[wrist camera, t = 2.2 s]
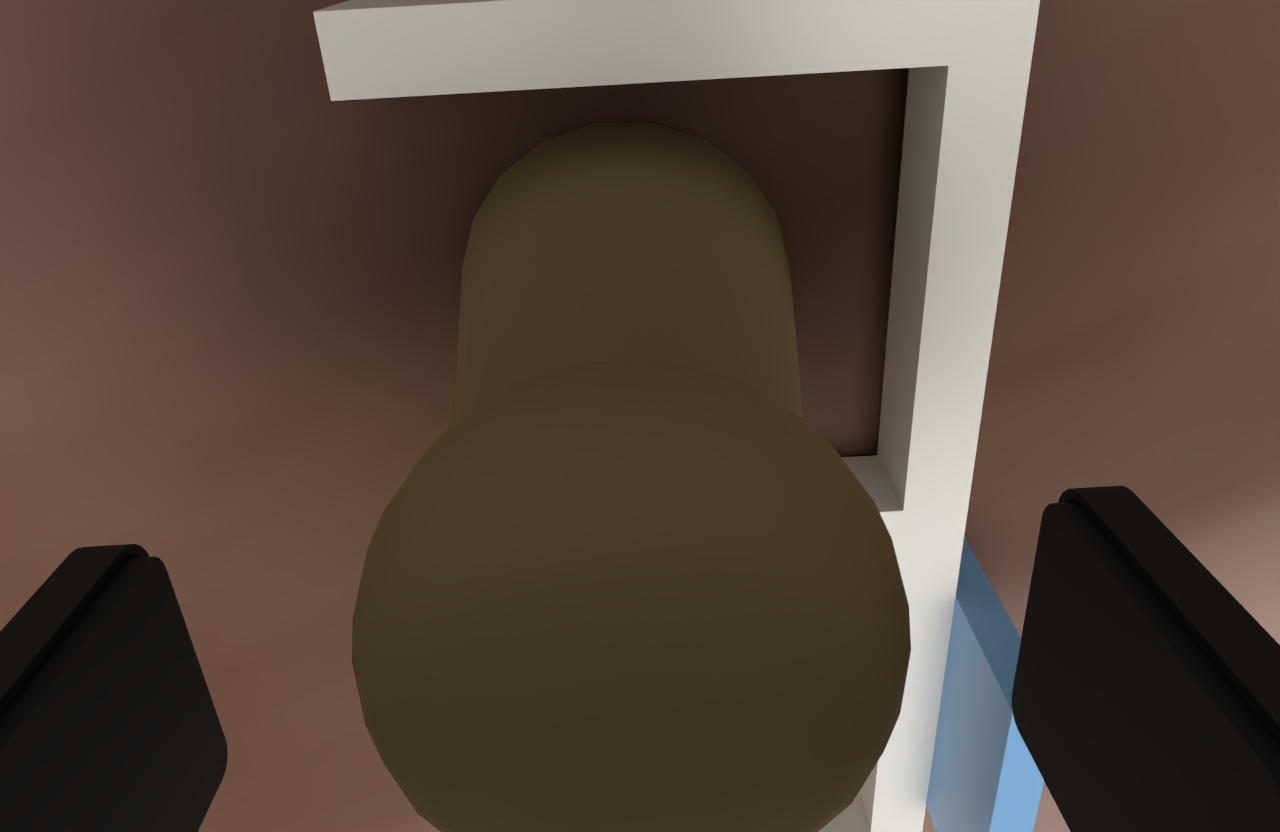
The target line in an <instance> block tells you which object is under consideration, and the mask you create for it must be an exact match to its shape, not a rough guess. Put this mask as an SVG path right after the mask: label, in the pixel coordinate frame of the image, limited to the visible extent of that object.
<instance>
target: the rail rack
mask: <svg viewBox="0 0 1280 832" xmlns="http://www.w3.org/2000/svg"><path fill="white" fill-rule="evenodd" d="M1039 5H1040V0H348V1H345V2H342V3H339V4H336V5H332V6H329V7H326V8H323V9H320V10H317V11H314V12H313V14H314V19H315V24H316V29H317V34H318V39H319V44H320V49H321V54H322V59H323V64H324V69H325V74H326V78H327V83H328V88H329V93H330V98H331V101H340V100H357V99H374V98H392V97H409V96H427V95H444V94H462V93H479V92H497V91H514V90H531V89H549V88H566V87H584V86H601V85H619V84H636V83H654V82H671V81H688V80H706V79H723V78H741V77H758V76H776V75H793V74H811V73H828V72H845V71H863V70H880V69H898V68H909V74H908V86H907V98H906V110H905V122H904V135H903V147H902V159H901V171H900V183H899V195H898V207H897V219H896V232H895V244H894V256H893V268H892V280H891V292H890V304H889V316H888V329H887V341H886V353H885V365H884V377H883V389H882V401H881V413H880V425H879V438H878V450H877V455H874V456H856V457H841V458H842V459H843V461H844V462H845V463H846V465H847V466H848V467H849V469H850V470H851V471H852V473H853V474H854V475H855V477H856V478H857V479H858V481H859V482H860V483H861V485H862V486H863V487H864V489H865V490H866V491H867V493H868V494H869V495H870V497H871V498H872V499H873V501H874V502H875V504H876V506H877V508H878V510H879V512H880V515H881V517H882V519H883V521H884V523H885V525H886V527H887V530H888V532H889V534H890V536H891V538H892V541H893V545H894V549H895V553H896V557H897V561H898V565H899V569H900V573H901V577H902V581H903V585H904V589H905V593H906V597H907V601H908V605H909V617H910V638H911V653H910V659H909V665H908V671H907V677H906V682H905V688H904V694H903V700H902V706H901V712H900V715H899V718H898V720H897V722H896V725H895V727H894V729H893V731H892V734H891V736H890V738H889V741H888V743H887V745H886V748H885V750H884V752H883V754H882V755H881V757H880V759H879V760H878V762H877V764H876V765H875V767H874V768H873V770H872V772H871V773H870V775H869V777H868V778H867V780H866V781H865V783H864V785H863V786H862V788H861V790H860V791H859V793H858V794H857V796H856V798H855V799H854V801H853V803H852V804H851V805H850V806H848V807H847V808H846V809H845V810H844V811H842V812H841V813H840V814H839V815H838V816H837V817H835V818H834V819H833V820H832V821H831V822H829V823H828V824H827V825H826V826H825V827H824V828H822V829H821V830H820V831H819V832H922V829H923V822H924V815H925V808H926V804H927V807H928V810H929V813H930V816H931V819H932V822H933V825H934V828H935V831H936V832H1033V828H1034V824H1035V819H1036V815H1037V811H1038V806H1039V802H1040V797H1041V793H1042V789H1043V784H1044V779H1043V777H1042V775H1041V773H1040V772H1039V770H1038V768H1037V766H1036V764H1035V762H1034V760H1033V758H1032V756H1031V754H1030V752H1029V750H1028V748H1027V747H1026V745H1025V743H1024V741H1023V739H1022V737H1021V735H1020V733H1019V731H1018V729H1017V726H1016V723H1015V720H1014V716H1013V711H1012V690H1013V684H1014V678H1015V672H1016V667H1017V661H1018V655H1019V649H1020V643H1021V638H1020V636H1019V634H1018V632H1017V630H1016V629H1015V627H1014V625H1013V623H1012V621H1011V620H1010V618H1009V616H1008V614H1007V612H1006V611H1005V609H1004V607H1003V605H1002V603H1001V601H1000V600H999V598H998V596H997V594H996V592H995V591H994V589H993V587H992V585H991V583H990V582H989V580H988V578H987V576H986V574H985V573H984V571H983V569H982V567H981V565H980V564H979V562H978V560H977V558H976V556H975V554H974V553H973V551H972V549H971V547H970V545H969V544H968V542H967V540H966V538H965V536H964V533H965V526H966V519H967V512H968V505H969V498H970V491H971V484H972V477H973V470H974V463H975V456H976V449H977V442H978V435H979V428H980V421H981V413H982V406H983V399H984V392H985V385H986V378H987V371H988V364H989V357H990V350H991V343H992V336H993V329H994V322H995V315H996V308H997V301H998V294H999V287H1000V280H1001V272H1002V265H1003V258H1004V251H1005V244H1006V237H1007V230H1008V223H1009V216H1010V209H1011V202H1012V195H1013V188H1014V181H1015V174H1016V167H1017V160H1018V153H1019V146H1020V139H1021V131H1022V124H1023V117H1024V110H1025V103H1026V96H1027V89H1028V82H1029V75H1030V68H1031V61H1032V54H1033V47H1034V40H1035V33H1036V26H1037V19H1038V12H1039Z"/></svg>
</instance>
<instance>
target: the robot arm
mask: <svg viewBox="0 0 1280 832" xmlns="http://www.w3.org/2000/svg"><path fill="white" fill-rule="evenodd" d="M1012 711H1013V716H1014V720H1015V723H1016V726H1017V729H1018V731H1019V733H1020V735H1021V737H1022V739H1023V741H1024V743H1025V745H1026V747H1027V748H1028V750H1029V752H1030V754H1031V756H1032V758H1033V760H1034V762H1035V764H1036V766H1037V768H1038V770H1039V772H1040V773H1041V775H1042V777H1043V779H1044V781H1045V783H1046V785H1047V787H1048V789H1049V791H1050V793H1051V795H1052V797H1053V798H1054V800H1055V802H1056V804H1057V806H1058V808H1059V810H1060V812H1061V814H1062V816H1063V818H1064V820H1065V822H1066V823H1067V825H1068V827H1069V829H1070V831H1071V832H1280V645H1279V644H1278V643H1277V642H1276V641H1275V640H1274V639H1273V638H1272V637H1271V636H1270V635H1269V634H1268V632H1267V631H1266V630H1265V629H1264V628H1263V627H1262V626H1261V625H1260V624H1259V623H1258V622H1257V621H1256V620H1255V619H1254V618H1253V617H1252V616H1251V615H1250V614H1249V613H1248V612H1247V611H1246V610H1245V609H1244V607H1243V606H1242V605H1241V604H1240V603H1239V602H1238V601H1237V600H1236V599H1235V598H1234V597H1233V596H1232V595H1231V594H1230V593H1229V592H1228V591H1227V590H1226V589H1225V588H1224V587H1223V586H1222V585H1221V583H1220V582H1219V581H1218V580H1217V579H1216V578H1215V577H1214V576H1213V575H1212V574H1211V573H1210V572H1209V571H1208V570H1207V569H1206V568H1205V567H1204V566H1203V565H1202V564H1201V563H1200V562H1199V561H1198V559H1197V558H1196V557H1195V556H1194V555H1193V554H1192V553H1191V552H1190V551H1189V550H1188V549H1187V548H1186V547H1185V546H1184V545H1183V544H1182V543H1181V542H1180V541H1179V540H1178V539H1177V538H1176V537H1175V535H1174V534H1173V533H1172V532H1171V531H1170V530H1169V529H1168V528H1167V527H1166V526H1165V525H1164V524H1163V523H1162V522H1161V521H1160V520H1159V519H1158V518H1157V517H1156V516H1155V515H1154V514H1153V513H1152V511H1151V510H1150V509H1149V508H1148V507H1147V506H1146V505H1145V504H1144V503H1143V502H1142V501H1141V500H1140V499H1139V498H1138V497H1137V496H1136V495H1135V494H1134V493H1133V492H1132V491H1131V490H1130V489H1128V488H1127V487H1124V486H1108V487H1091V488H1074V489H1068V490H1066V491H1064V492H1063V494H1062V495H1061V497H1060V498H1059V502H1058V503H1052V504H1049V505H1047V506H1046V508H1045V510H1044V512H1043V516H1042V521H1041V527H1040V532H1039V538H1038V544H1037V550H1036V556H1035V562H1034V567H1033V573H1032V579H1031V585H1030V591H1029V597H1028V602H1027V608H1026V614H1025V620H1024V626H1023V632H1022V637H1021V643H1020V649H1019V655H1018V661H1017V667H1016V672H1015V678H1014V684H1013V690H1012ZM227 755H228V753H227V743H226V739H225V736H224V733H223V730H222V728H221V725H220V722H219V719H218V716H217V713H216V710H215V707H214V705H213V702H212V699H211V696H210V693H209V690H208V687H207V684H206V682H205V679H204V676H203V673H202V670H201V667H200V664H199V661H198V659H197V656H196V653H195V650H194V647H193V644H192V641H191V638H190V636H189V633H188V630H187V627H186V624H185V621H184V618H183V615H182V613H181V610H180V607H179V604H178V601H177V598H176V595H175V592H174V590H173V587H172V584H171V581H170V578H169V575H168V572H167V570H166V567H165V565H164V563H163V562H162V561H161V560H160V559H159V558H157V557H149V555H148V553H147V552H146V551H145V550H144V549H143V548H142V547H141V546H139V545H136V544H127V545H110V546H93V547H82V548H78V549H76V550H74V551H73V552H72V553H71V554H69V555H68V557H67V558H66V559H65V560H64V561H63V562H62V563H61V564H60V565H59V567H58V568H57V569H56V570H55V571H54V572H53V573H52V574H51V576H50V577H49V578H48V579H47V580H46V581H45V582H44V583H43V584H42V586H41V587H40V588H39V589H38V590H37V591H36V592H35V593H34V595H33V596H32V597H31V598H30V599H29V600H28V601H27V602H26V603H25V605H24V606H23V607H22V608H21V609H20V610H19V611H18V612H17V614H16V615H15V616H14V617H13V618H12V619H11V620H10V621H9V622H8V624H7V625H6V626H5V627H4V628H3V629H2V630H1V631H0V832H198V830H199V828H200V826H201V824H202V822H203V819H204V817H205V815H206V813H207V811H208V809H209V807H210V804H211V802H212V800H213V798H214V796H215V794H216V792H217V790H218V787H219V785H220V783H221V781H222V779H223V776H224V773H225V770H226V765H227Z"/></svg>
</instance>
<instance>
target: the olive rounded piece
mask: <svg viewBox="0 0 1280 832" xmlns="http://www.w3.org/2000/svg"><path fill="white" fill-rule="evenodd" d="M910 653H911V638H910V617H909V605H908V601H907V597H906V593H905V589H904V585H903V581H902V577H901V573H900V569H899V565H898V561H897V557H896V553H895V549H894V545H893V541H892V538H891V536H890V534H889V532H888V530H887V527H886V525H885V523H884V521H883V519H882V517H881V515H880V512H879V510H878V508H877V506H876V504H875V502H874V501H873V499H872V498H871V497H870V495H869V494H868V493H867V491H866V490H865V489H864V487H863V486H862V485H861V483H860V482H859V481H858V479H857V478H856V477H855V475H854V474H853V473H852V471H851V470H850V469H849V467H848V466H847V465H846V463H845V462H844V461H843V459H842V458H841V457H840V455H839V454H838V453H837V451H836V450H835V449H834V447H833V446H832V445H831V443H830V442H829V441H827V440H826V439H825V438H824V437H823V436H822V435H821V434H820V433H818V432H817V431H816V430H815V429H814V428H813V427H812V426H811V425H809V424H808V423H807V422H806V421H804V416H803V405H802V394H801V383H800V372H799V362H798V351H797V340H796V329H795V318H794V307H793V296H792V285H791V275H790V264H789V258H788V255H787V251H786V247H785V243H784V240H783V236H782V232H781V229H780V225H779V221H778V218H777V214H776V212H775V210H774V209H773V207H772V206H771V205H770V203H769V202H768V200H767V199H766V197H765V196H764V194H763V193H762V191H761V190H760V188H759V187H758V186H757V184H756V183H755V181H754V180H753V178H752V177H751V175H750V174H749V172H748V171H747V170H746V169H745V168H743V167H742V166H741V165H739V164H738V163H737V162H735V161H734V160H733V159H731V158H730V157H728V156H727V155H726V154H724V153H723V152H722V151H720V150H719V149H718V148H716V147H715V146H714V145H712V144H711V143H710V142H708V141H707V140H706V139H704V138H701V137H698V136H695V135H692V134H689V133H686V132H683V131H680V130H676V129H673V128H670V127H667V126H664V125H661V124H658V123H655V122H651V121H647V122H595V123H592V124H589V125H586V126H583V127H581V128H578V129H575V130H572V131H569V132H566V133H564V134H561V135H558V136H555V137H552V138H550V139H547V140H544V141H542V142H541V143H540V144H539V145H537V146H536V147H535V148H533V149H532V150H531V151H530V152H528V153H527V154H526V155H525V156H523V157H522V158H521V159H520V160H518V161H517V162H516V163H514V164H513V165H512V166H511V167H509V168H508V169H507V170H506V171H504V172H503V173H502V174H501V175H500V177H499V178H498V180H497V181H496V183H495V185H494V186H493V188H492V189H491V191H490V192H489V194H488V196H487V197H486V199H485V200H484V202H483V203H482V205H481V207H480V208H479V210H478V211H477V213H476V214H475V216H474V218H473V222H472V226H471V230H470V235H469V239H468V243H467V247H466V252H465V256H464V260H463V265H462V277H461V294H460V311H459V328H458V346H457V363H456V380H455V397H454V414H453V427H451V428H450V429H449V430H448V431H447V432H446V433H444V434H443V435H442V436H441V437H440V438H439V439H438V440H437V441H436V442H435V443H434V444H433V445H432V446H431V447H430V448H429V449H428V450H426V452H425V453H424V455H423V456H422V457H421V459H420V460H419V462H418V463H417V465H416V466H415V468H414V469H413V470H412V472H411V473H410V475H409V476H408V478H407V479H406V481H405V482H404V483H403V485H402V486H401V488H400V489H399V491H398V492H397V493H396V495H395V496H394V498H393V499H392V501H391V502H390V504H389V505H388V506H387V508H386V509H385V511H384V512H383V515H382V517H381V519H380V522H379V524H378V526H377V529H376V531H375V533H374V536H373V538H372V540H371V543H370V545H369V547H368V550H367V554H366V559H365V564H364V569H363V573H362V578H361V583H360V587H359V592H358V597H357V601H356V606H355V611H354V615H353V645H352V663H353V668H354V672H355V677H356V682H357V686H358V691H359V696H360V701H361V705H362V710H363V715H364V720H365V724H366V727H367V729H368V731H369V733H370V735H371V738H372V740H373V742H374V744H375V746H376V748H377V750H378V752H379V754H380V756H381V758H382V761H383V763H384V764H385V766H386V767H387V769H388V770H389V772H390V773H391V775H392V776H393V778H394V779H395V781H396V782H397V784H398V785H399V786H400V788H401V789H402V791H403V792H404V794H405V795H406V797H407V798H408V800H409V801H410V803H411V804H412V806H413V807H414V809H415V810H416V812H417V813H418V814H419V815H420V816H422V817H423V818H424V819H425V820H427V821H428V822H429V823H431V824H432V825H433V826H435V827H436V828H437V829H438V830H440V831H441V832H819V831H820V830H821V829H822V828H824V827H825V826H826V825H827V824H828V823H829V822H831V821H832V820H833V819H834V818H835V817H837V816H838V815H839V814H840V813H841V812H842V811H844V810H845V809H846V808H847V807H848V806H850V805H851V804H852V803H853V801H854V799H855V798H856V796H857V794H858V793H859V791H860V790H861V788H862V786H863V785H864V783H865V781H866V780H867V778H868V777H869V775H870V773H871V772H872V770H873V768H874V767H875V765H876V764H877V762H878V760H879V759H880V757H881V755H882V754H883V752H884V750H885V748H886V745H887V743H888V741H889V738H890V736H891V734H892V731H893V729H894V727H895V725H896V722H897V720H898V718H899V715H900V712H901V706H902V700H903V694H904V688H905V682H906V677H907V671H908V665H909V659H910Z"/></svg>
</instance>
